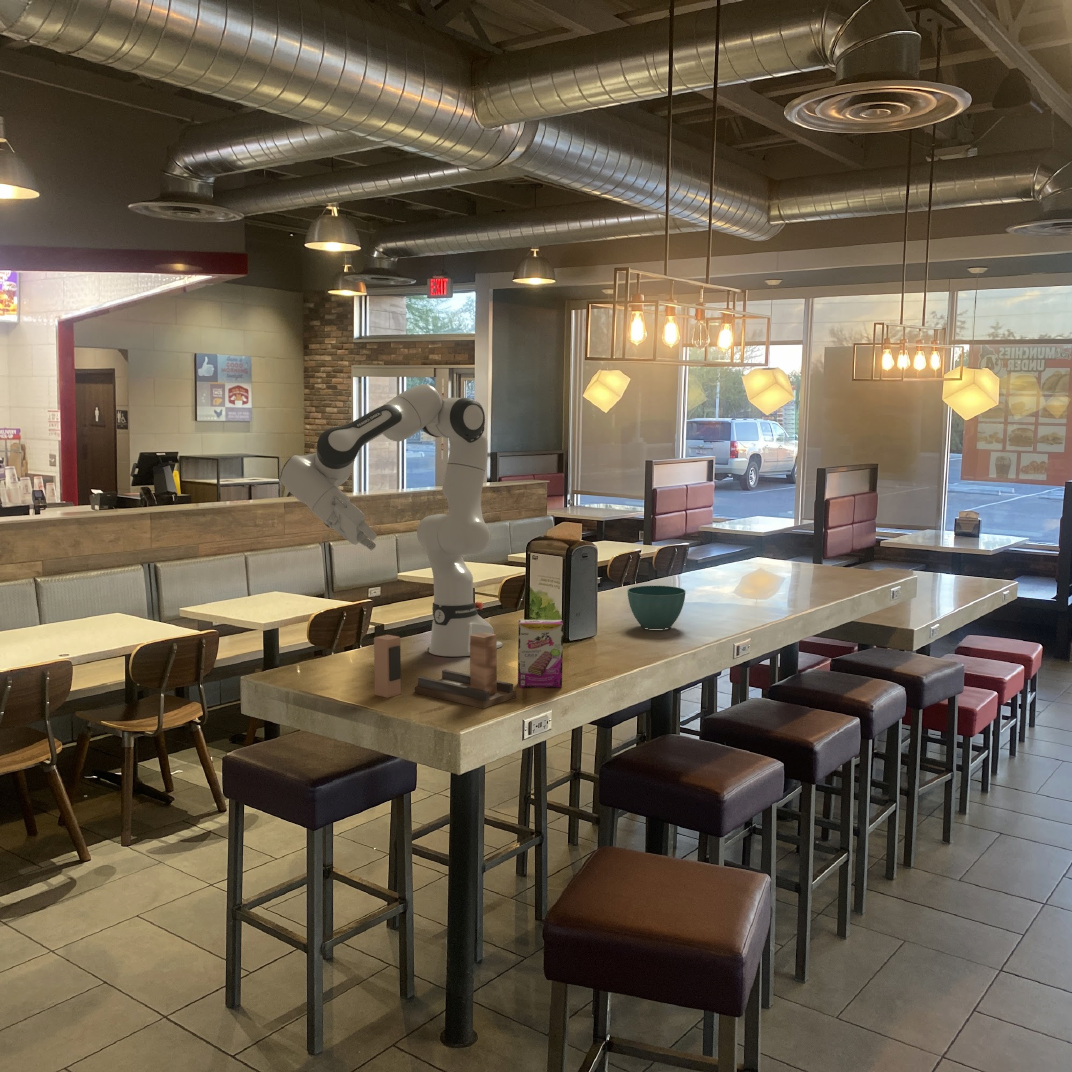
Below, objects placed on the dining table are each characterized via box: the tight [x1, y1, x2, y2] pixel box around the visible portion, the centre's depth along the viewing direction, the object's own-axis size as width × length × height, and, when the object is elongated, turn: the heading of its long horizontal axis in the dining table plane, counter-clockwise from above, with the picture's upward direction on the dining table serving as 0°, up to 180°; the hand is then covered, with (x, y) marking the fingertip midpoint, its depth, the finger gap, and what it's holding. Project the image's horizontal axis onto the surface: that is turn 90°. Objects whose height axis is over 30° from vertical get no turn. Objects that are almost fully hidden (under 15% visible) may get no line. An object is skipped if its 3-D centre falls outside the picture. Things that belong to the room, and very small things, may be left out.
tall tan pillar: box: [373, 634, 402, 699], centre depth 244 cm, size 4×5×14 cm
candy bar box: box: [517, 619, 564, 689], centre depth 252 cm, size 11×5×16 cm, turn 92°
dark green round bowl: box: [627, 585, 686, 629], centre depth 322 cm, size 18×18×12 cm
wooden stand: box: [414, 632, 517, 709], centre depth 244 cm, size 12×22×16 cm, turn 52°
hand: (374, 543), depth 254 cm, fingers open, 8 cm apart
